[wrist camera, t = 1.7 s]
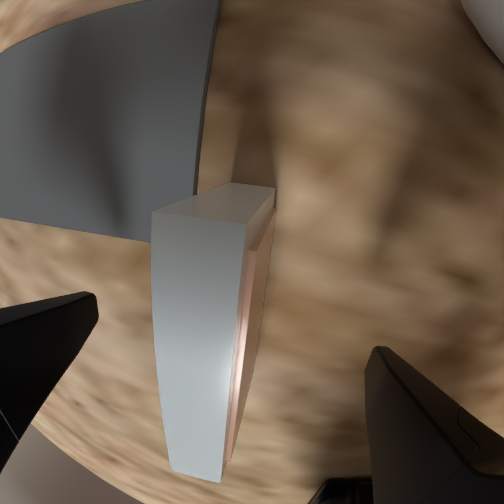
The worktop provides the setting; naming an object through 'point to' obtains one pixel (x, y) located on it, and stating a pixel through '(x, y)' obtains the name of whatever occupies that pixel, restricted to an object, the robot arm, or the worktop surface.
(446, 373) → the worktop surface
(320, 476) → the worktop surface
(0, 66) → the mat
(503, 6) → the donut
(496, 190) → the worktop surface
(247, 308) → the tile
